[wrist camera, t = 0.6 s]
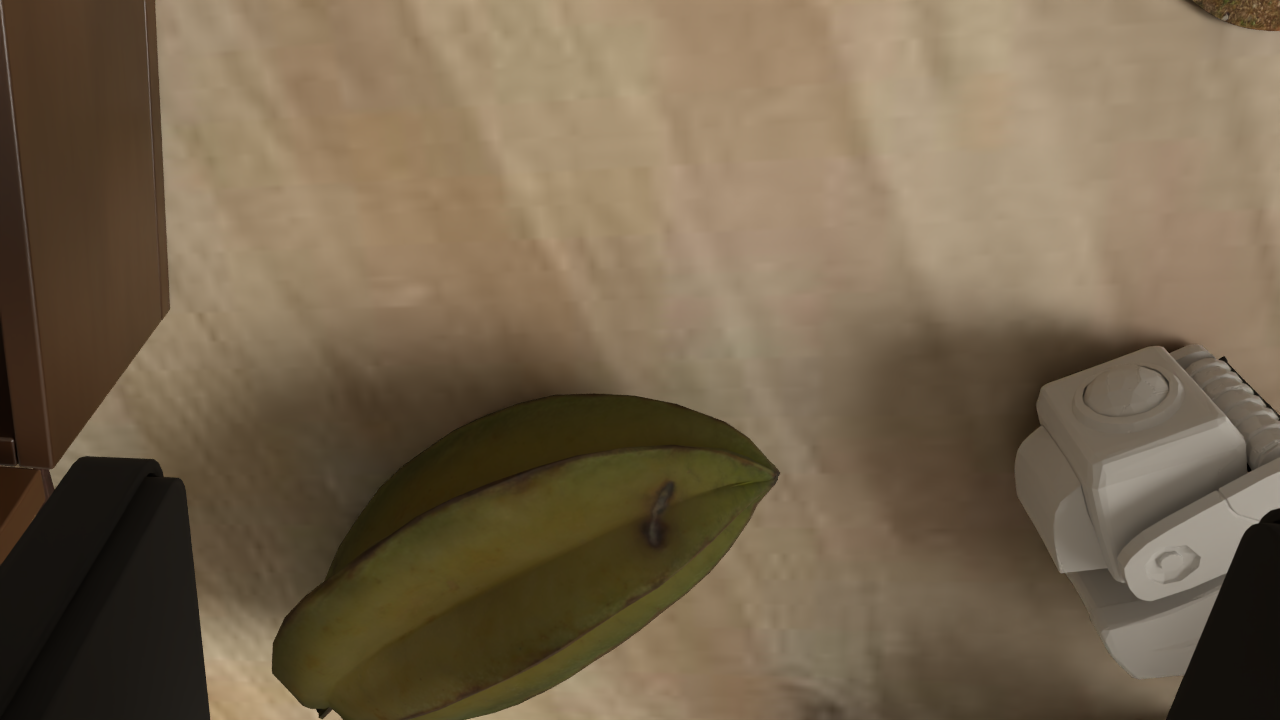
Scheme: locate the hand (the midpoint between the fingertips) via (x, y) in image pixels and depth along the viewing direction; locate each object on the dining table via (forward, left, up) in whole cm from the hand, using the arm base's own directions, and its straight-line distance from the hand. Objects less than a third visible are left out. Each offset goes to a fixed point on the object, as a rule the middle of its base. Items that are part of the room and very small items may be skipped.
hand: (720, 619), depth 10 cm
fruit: (+13, -1, -20) cm, 24 cm away
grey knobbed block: (+5, +14, -17) cm, 22 cm away
